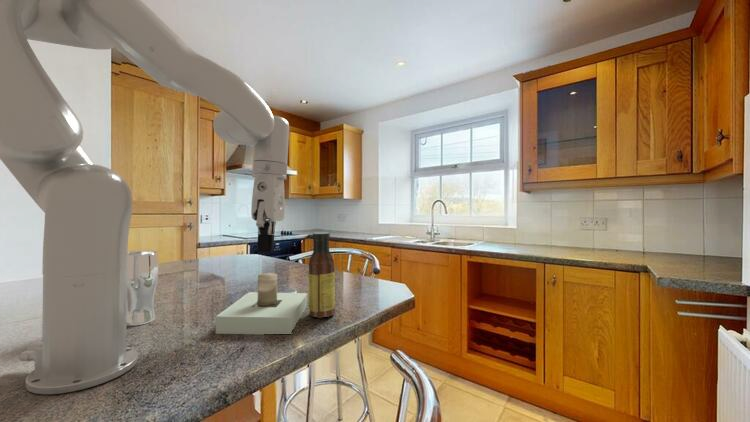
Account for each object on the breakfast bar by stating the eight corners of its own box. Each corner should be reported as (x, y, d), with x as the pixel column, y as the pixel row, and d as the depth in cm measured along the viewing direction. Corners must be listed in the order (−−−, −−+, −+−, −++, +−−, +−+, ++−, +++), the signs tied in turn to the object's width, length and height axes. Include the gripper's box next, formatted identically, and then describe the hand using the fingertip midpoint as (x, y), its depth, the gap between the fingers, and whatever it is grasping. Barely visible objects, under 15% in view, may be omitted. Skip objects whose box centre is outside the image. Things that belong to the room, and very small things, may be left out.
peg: (273, 322, 71) (274, 277, 71) (253, 321, 71) (254, 277, 71) (279, 315, 75) (280, 273, 75) (260, 315, 75) (261, 273, 75)
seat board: (215, 333, 64) (215, 316, 64) (248, 305, 82) (248, 292, 82) (290, 334, 64) (290, 317, 64) (307, 306, 82) (307, 293, 82)
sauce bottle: (337, 311, 79) (339, 232, 79) (331, 320, 73) (333, 234, 73) (311, 310, 80) (313, 231, 80) (303, 318, 74) (305, 233, 73)
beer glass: (111, 323, 68) (112, 253, 68) (146, 313, 74) (148, 249, 74) (128, 329, 65) (129, 256, 65) (164, 319, 71) (165, 252, 71)
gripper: (277, 167, 65) (272, 257, 65) (293, 176, 80) (289, 249, 80) (240, 165, 65) (235, 255, 65) (263, 174, 80) (259, 247, 80)
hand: (265, 251), depth 72 cm, fingers closed
